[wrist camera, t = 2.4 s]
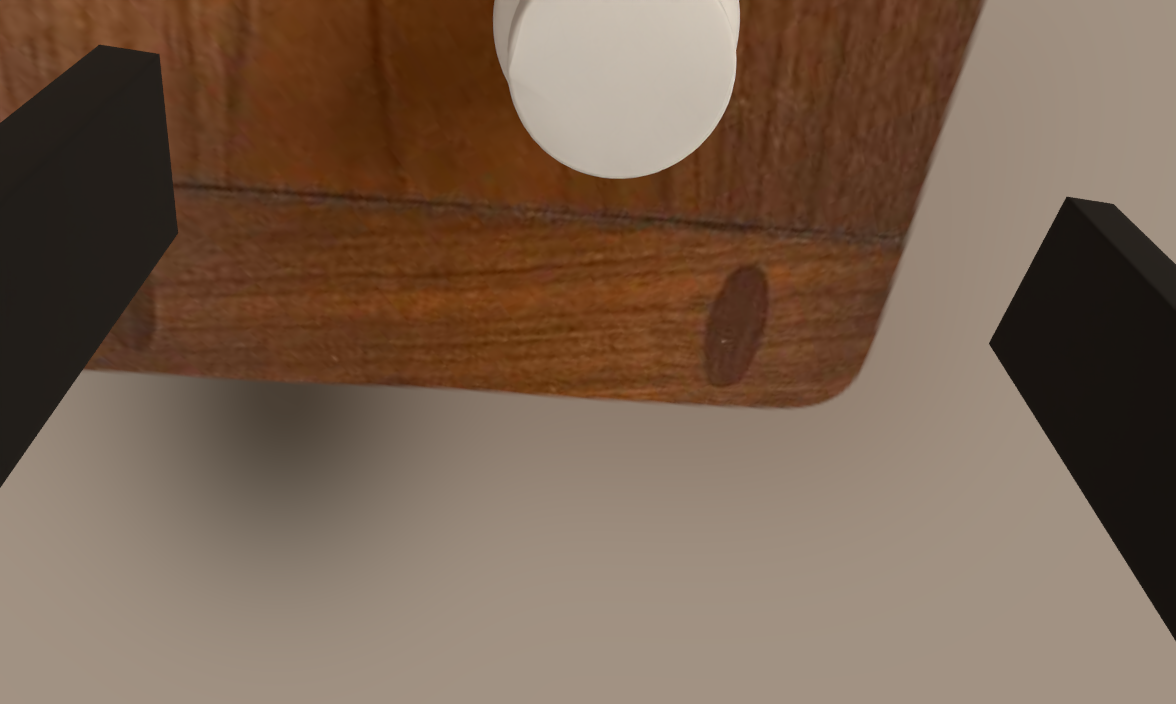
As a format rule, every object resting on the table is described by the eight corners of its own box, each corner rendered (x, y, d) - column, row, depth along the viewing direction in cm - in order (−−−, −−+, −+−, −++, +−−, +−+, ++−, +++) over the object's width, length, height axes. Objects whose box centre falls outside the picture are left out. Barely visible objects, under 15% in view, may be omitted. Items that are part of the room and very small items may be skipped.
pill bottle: (689, 62, 28) (734, 214, 20) (504, 46, 28) (476, 194, 20) (721, -147, 25) (790, -62, 17) (511, -167, 25) (480, -91, 17)
